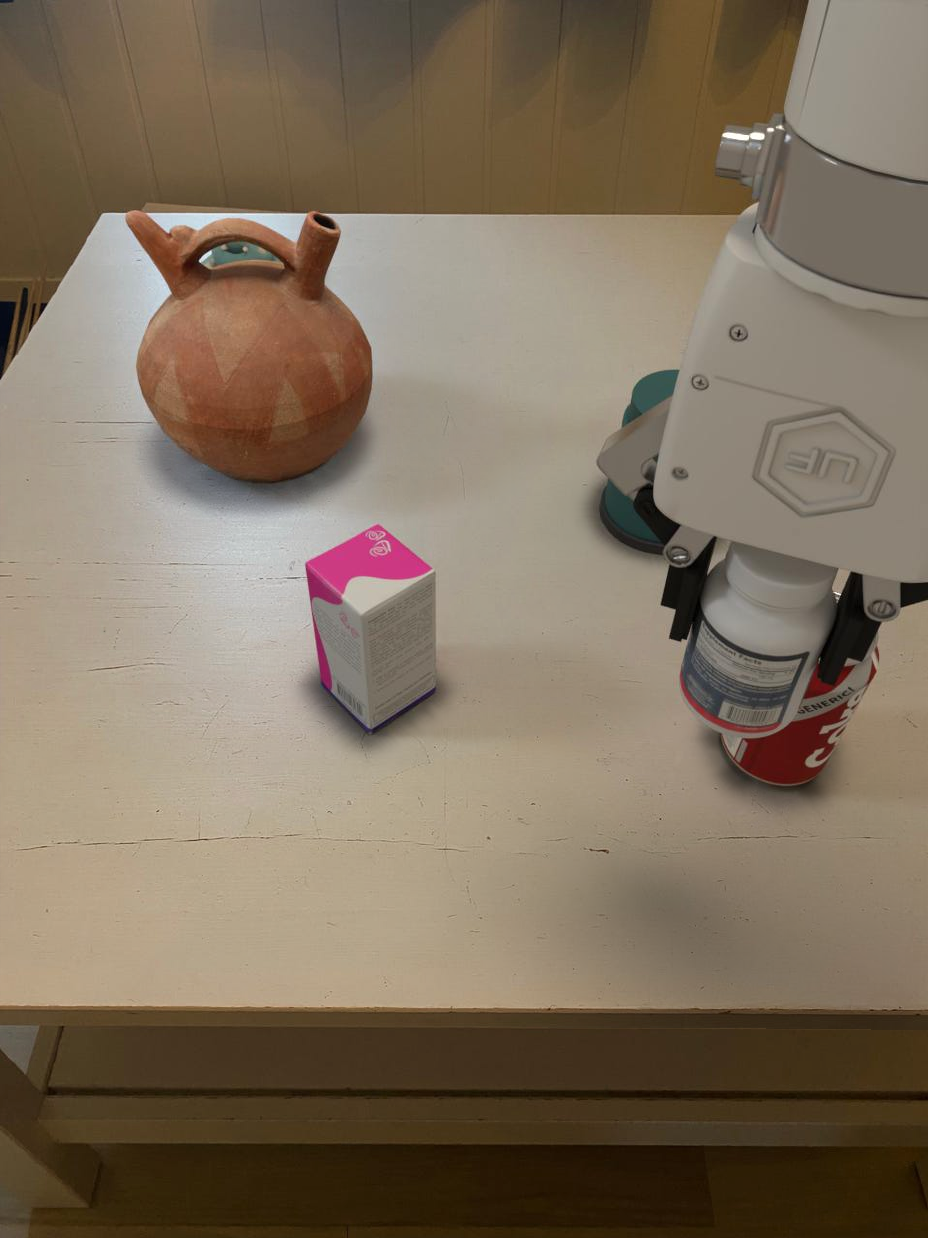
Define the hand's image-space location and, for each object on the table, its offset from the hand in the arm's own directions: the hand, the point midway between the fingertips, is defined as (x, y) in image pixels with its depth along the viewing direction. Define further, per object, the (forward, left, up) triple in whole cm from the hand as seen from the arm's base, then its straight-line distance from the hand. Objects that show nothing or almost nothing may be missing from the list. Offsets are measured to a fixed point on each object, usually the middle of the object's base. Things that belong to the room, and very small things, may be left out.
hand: (756, 634), depth 39 cm
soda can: (-4, -11, -22) cm, 25 cm away
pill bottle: (0, 0, -4) cm, 4 cm away
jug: (+41, -26, -22) cm, 53 cm away
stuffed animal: (+56, -46, -22) cm, 76 cm away
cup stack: (+8, -30, -22) cm, 38 cm away
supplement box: (+21, -6, -22) cm, 31 cm away
